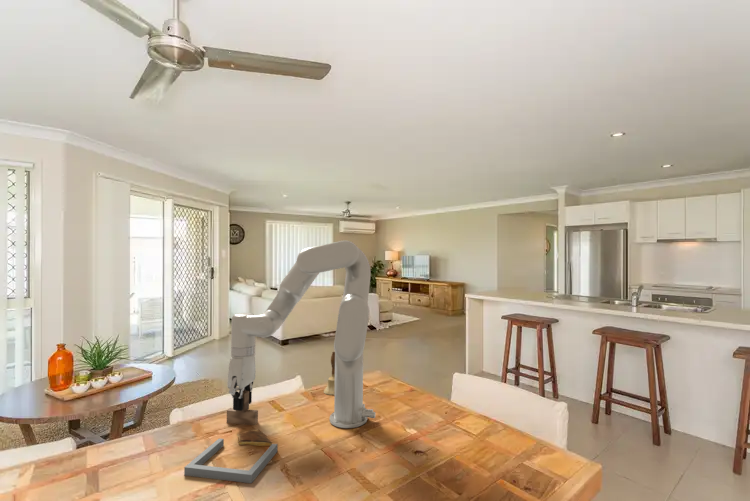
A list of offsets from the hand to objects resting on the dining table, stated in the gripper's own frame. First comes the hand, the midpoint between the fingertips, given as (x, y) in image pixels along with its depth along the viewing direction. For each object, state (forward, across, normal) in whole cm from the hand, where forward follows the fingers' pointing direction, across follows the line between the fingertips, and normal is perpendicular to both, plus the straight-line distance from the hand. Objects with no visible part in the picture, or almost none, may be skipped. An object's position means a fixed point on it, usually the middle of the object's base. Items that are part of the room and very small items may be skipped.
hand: (242, 405), depth 118 cm
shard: (+6, +9, +10) cm, 15 cm away
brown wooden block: (+5, 0, 0) cm, 5 cm away
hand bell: (+6, -32, +22) cm, 39 cm away
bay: (+5, +22, +10) cm, 25 cm away
